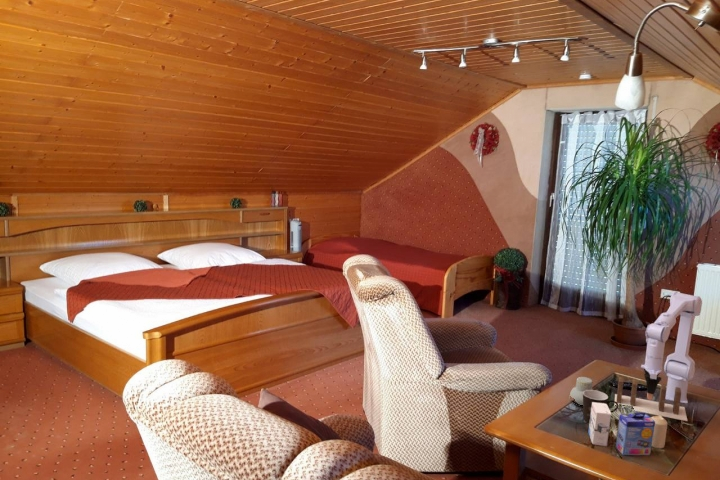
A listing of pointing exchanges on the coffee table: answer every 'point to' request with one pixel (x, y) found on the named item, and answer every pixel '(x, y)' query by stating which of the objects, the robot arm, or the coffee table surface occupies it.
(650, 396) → the tile
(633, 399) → the tile
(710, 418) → the coffee table surface
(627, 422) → the ink cartridge box
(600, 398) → the coffee mug
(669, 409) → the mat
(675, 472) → the coffee table surface
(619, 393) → the tile
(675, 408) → the tile
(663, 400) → the tile
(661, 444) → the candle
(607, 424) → the ink box
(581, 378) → the air freshener
